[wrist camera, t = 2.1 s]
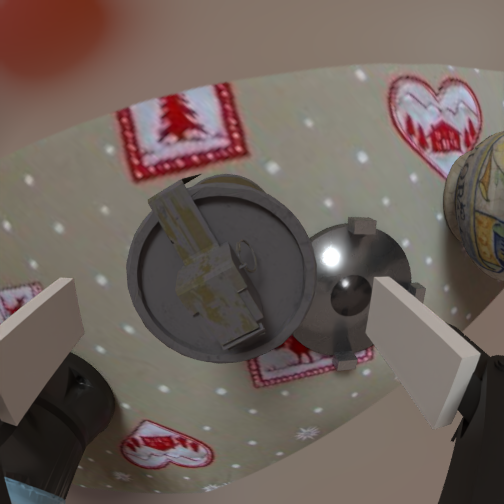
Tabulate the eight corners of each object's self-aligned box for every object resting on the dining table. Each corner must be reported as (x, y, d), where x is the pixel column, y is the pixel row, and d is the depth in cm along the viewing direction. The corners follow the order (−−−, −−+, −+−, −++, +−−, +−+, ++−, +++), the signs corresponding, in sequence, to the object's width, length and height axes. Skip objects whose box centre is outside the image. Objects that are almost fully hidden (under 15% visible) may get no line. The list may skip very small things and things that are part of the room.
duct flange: (269, 359, 38) (272, 375, 35) (274, 213, 34) (278, 219, 30) (397, 347, 39) (409, 361, 36) (419, 217, 35) (435, 223, 31)
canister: (292, 242, 35) (361, 335, 15) (208, 287, 35) (188, 415, 16) (243, 152, 32) (261, 131, 13) (156, 202, 33) (65, 253, 13)
